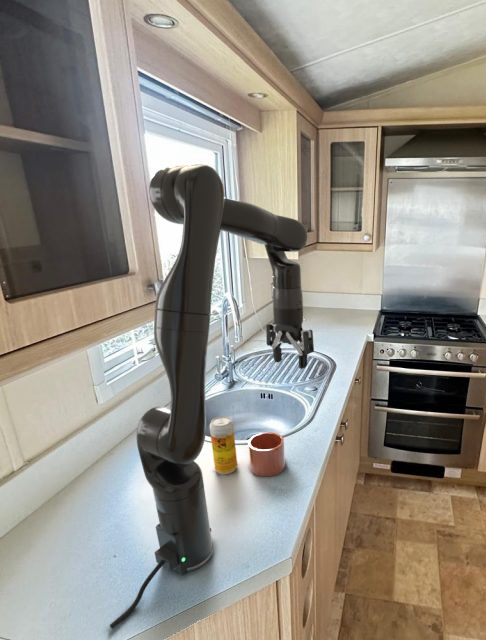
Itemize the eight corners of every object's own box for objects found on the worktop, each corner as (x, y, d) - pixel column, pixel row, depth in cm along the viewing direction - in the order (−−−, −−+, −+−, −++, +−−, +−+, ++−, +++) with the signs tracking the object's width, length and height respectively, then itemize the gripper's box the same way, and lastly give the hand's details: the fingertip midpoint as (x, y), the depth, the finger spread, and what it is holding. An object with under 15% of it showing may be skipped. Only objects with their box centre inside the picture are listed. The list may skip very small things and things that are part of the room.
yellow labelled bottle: (215, 477, 109) (209, 428, 104) (214, 464, 115) (208, 417, 109) (238, 473, 111) (233, 424, 105) (236, 461, 116) (231, 414, 111)
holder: (270, 480, 108) (268, 454, 105) (243, 469, 112) (240, 444, 110) (291, 462, 115) (290, 437, 112) (265, 452, 120) (263, 429, 117)
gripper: (257, 303, 104) (261, 363, 110) (300, 310, 96) (302, 374, 102) (276, 299, 110) (279, 356, 115) (319, 305, 102) (320, 366, 107)
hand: (290, 364), depth 109 cm, fingers open, 8 cm apart
